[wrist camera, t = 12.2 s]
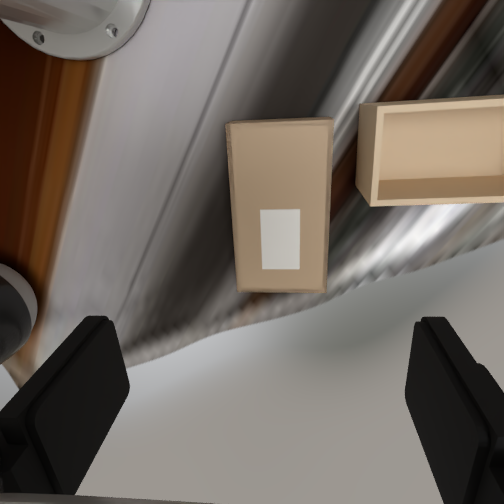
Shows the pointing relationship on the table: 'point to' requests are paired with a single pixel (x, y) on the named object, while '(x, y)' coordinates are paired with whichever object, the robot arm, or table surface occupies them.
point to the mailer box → (431, 151)
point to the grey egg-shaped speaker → (15, 312)
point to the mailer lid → (280, 202)
